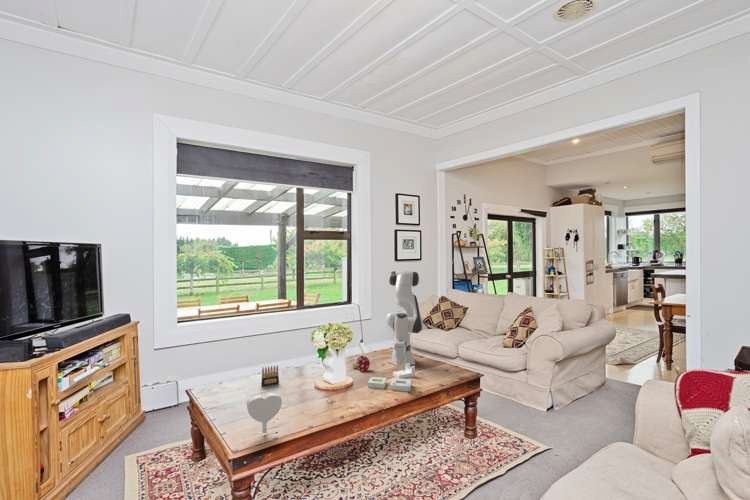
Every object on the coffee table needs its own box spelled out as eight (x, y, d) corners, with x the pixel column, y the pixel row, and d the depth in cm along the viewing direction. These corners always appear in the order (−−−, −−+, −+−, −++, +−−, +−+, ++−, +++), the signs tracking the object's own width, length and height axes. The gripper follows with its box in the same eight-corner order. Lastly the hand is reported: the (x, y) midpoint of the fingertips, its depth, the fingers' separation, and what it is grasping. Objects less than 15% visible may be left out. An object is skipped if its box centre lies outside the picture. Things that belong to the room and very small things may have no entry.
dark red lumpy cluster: (349, 355, 273) (362, 352, 263) (361, 361, 278) (374, 358, 268) (345, 370, 267) (359, 367, 256) (357, 375, 272) (371, 373, 261)
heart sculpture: (279, 427, 184) (279, 390, 184) (282, 432, 179) (282, 394, 179) (246, 434, 177) (246, 396, 177) (248, 439, 173) (247, 400, 172)
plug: (397, 368, 235) (397, 350, 235) (405, 368, 234) (405, 350, 234) (396, 369, 232) (397, 351, 232) (405, 370, 231) (405, 351, 231)
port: (392, 384, 240) (392, 377, 240) (411, 385, 238) (411, 378, 238) (389, 391, 229) (390, 383, 229) (409, 393, 226) (409, 385, 226)
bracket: (408, 374, 260) (408, 363, 259) (414, 377, 254) (414, 366, 253) (392, 377, 253) (393, 366, 253) (398, 380, 247) (398, 369, 247)
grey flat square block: (371, 383, 242) (371, 376, 242) (386, 384, 240) (386, 378, 240) (367, 388, 232) (367, 382, 232) (383, 390, 230) (383, 383, 230)
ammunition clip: (261, 386, 235) (261, 367, 235) (261, 385, 237) (261, 366, 237) (279, 383, 240) (279, 365, 240) (278, 382, 242) (278, 364, 242)
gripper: (398, 336, 244) (398, 357, 244) (393, 344, 223) (393, 367, 224) (408, 336, 242) (408, 358, 242) (404, 344, 222) (404, 368, 222)
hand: (401, 362), depth 233 cm, fingers closed on plug, 3 cm apart
